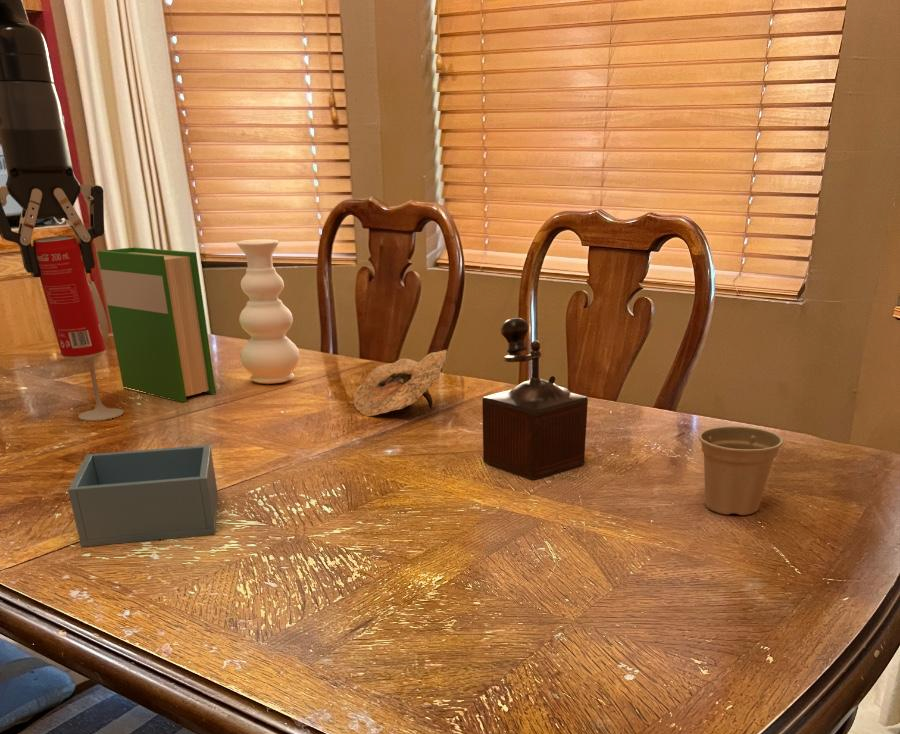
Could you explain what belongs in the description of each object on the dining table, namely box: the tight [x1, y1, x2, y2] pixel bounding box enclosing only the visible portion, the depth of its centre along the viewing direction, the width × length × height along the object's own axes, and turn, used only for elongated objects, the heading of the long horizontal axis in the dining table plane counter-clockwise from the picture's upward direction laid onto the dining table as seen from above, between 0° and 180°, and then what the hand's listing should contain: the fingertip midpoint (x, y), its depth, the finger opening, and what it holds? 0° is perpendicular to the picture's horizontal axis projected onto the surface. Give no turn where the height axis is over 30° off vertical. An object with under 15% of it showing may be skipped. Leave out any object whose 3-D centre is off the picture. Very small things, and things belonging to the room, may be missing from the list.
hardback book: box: [96, 246, 217, 403], centre depth 153 cm, size 18×7×24 cm, turn 53°
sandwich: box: [352, 349, 448, 417], centre depth 145 cm, size 18×14×8 cm
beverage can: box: [32, 235, 107, 360], centre depth 113 cm, size 6×6×15 cm
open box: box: [67, 444, 219, 548], centre depth 101 cm, size 15×13×7 cm
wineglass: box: [77, 280, 125, 422], centre depth 140 cm, size 8×8×21 cm
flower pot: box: [698, 425, 784, 516], centre depth 101 cm, size 9×9×9 cm
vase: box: [236, 238, 300, 385], centre depth 159 cm, size 11×11×25 cm
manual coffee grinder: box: [481, 317, 589, 481], centre depth 117 cm, size 16×11×18 cm
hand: (61, 274), depth 111 cm, fingers closed on beverage can, 5 cm apart
